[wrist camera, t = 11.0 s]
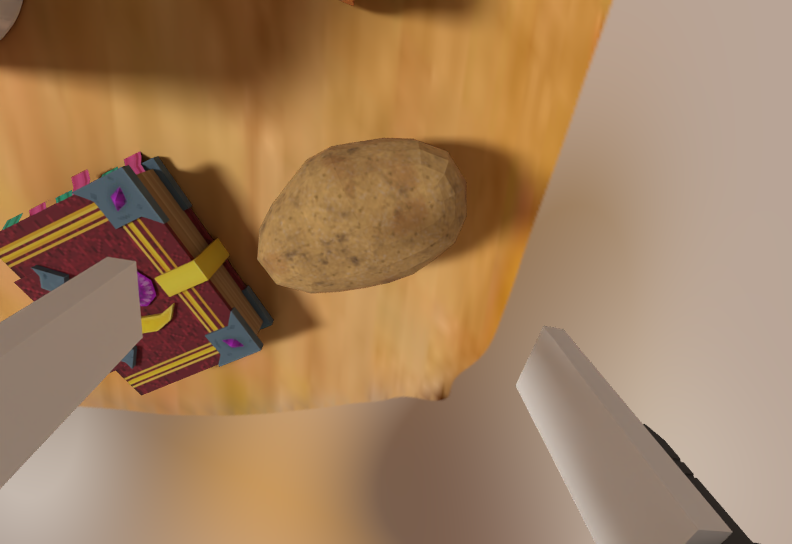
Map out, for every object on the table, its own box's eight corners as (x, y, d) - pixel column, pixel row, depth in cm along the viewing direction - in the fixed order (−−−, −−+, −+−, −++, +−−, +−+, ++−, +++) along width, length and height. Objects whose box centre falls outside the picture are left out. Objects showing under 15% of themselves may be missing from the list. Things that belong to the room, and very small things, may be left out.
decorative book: (166, 362, 33) (135, 404, 29) (19, 204, 26) (-53, 227, 22) (275, 317, 32) (260, 354, 27) (151, 138, 25) (103, 148, 20)
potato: (244, 179, 26) (198, 211, 19) (426, 99, 25) (450, 101, 18) (308, 287, 30) (289, 347, 23) (467, 225, 29) (499, 268, 22)
